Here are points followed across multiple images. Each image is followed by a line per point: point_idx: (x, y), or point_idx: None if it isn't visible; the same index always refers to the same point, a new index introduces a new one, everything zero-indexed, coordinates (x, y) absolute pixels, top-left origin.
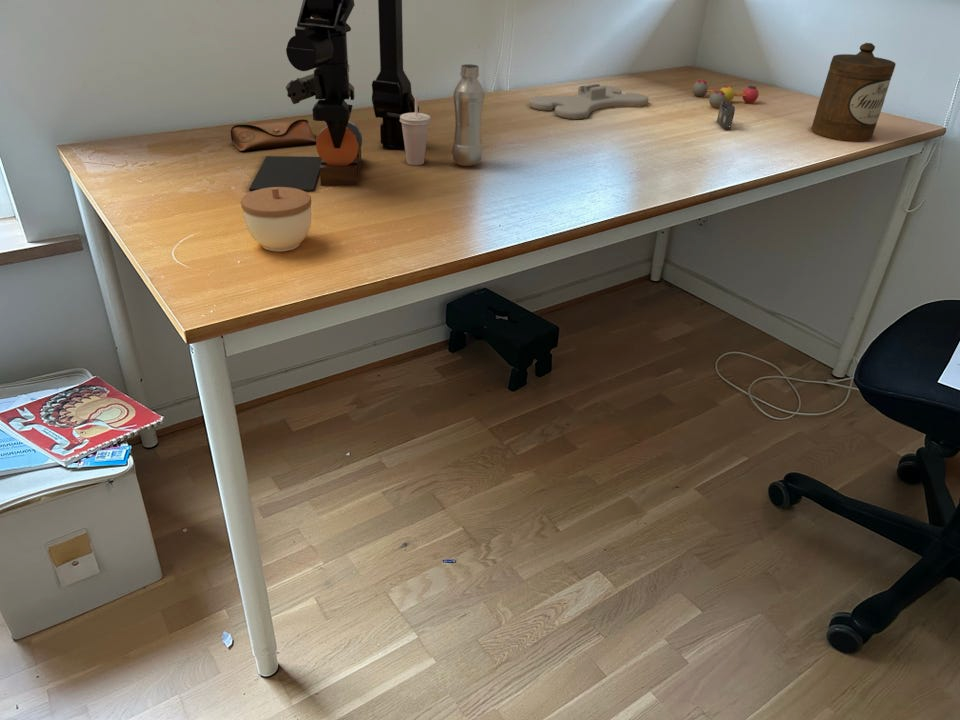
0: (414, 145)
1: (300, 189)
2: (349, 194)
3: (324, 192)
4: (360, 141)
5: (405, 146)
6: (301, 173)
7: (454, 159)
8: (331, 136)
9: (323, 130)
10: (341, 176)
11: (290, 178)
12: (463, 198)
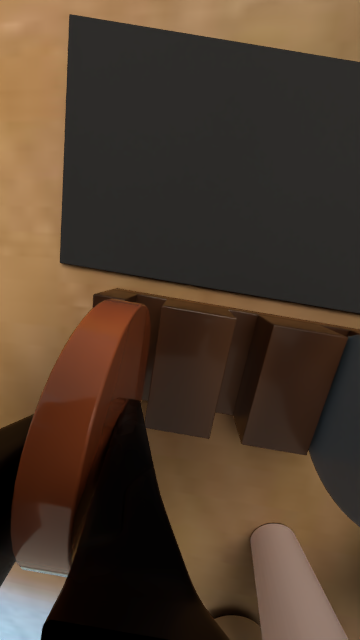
0: (261, 613)
1: (62, 220)
2: (41, 359)
3: (57, 294)
4: (326, 482)
5: (287, 582)
6: (217, 230)
7: (226, 628)
8: (18, 424)
9: (44, 395)
10: None
11: (170, 188)
12: (21, 572)
